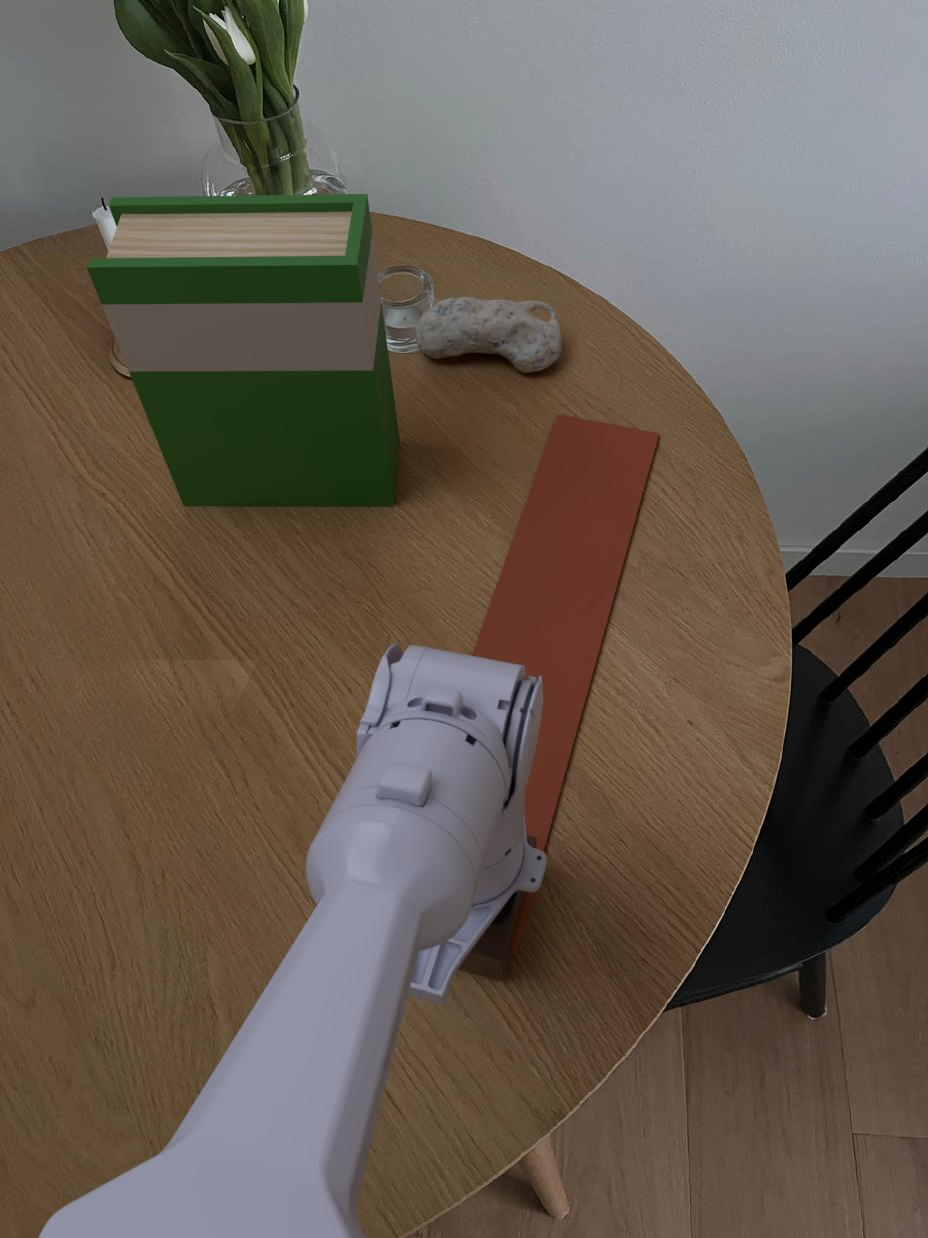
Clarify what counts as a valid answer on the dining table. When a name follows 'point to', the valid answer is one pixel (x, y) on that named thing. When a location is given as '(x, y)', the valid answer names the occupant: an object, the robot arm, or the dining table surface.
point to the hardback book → (256, 345)
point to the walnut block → (496, 941)
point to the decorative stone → (491, 331)
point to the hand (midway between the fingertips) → (473, 909)
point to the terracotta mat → (565, 587)
